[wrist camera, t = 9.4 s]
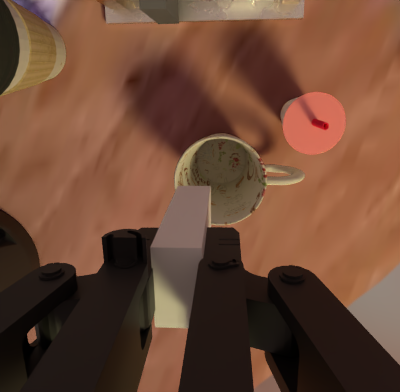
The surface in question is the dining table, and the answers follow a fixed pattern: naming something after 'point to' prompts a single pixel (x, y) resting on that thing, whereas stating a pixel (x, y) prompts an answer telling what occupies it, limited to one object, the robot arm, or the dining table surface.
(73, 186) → the dining table surface
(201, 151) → the mug
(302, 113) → the cup
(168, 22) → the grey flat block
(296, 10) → the metal rod stand
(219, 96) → the dining table surface
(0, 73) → the coffee cup
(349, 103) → the dining table surface
